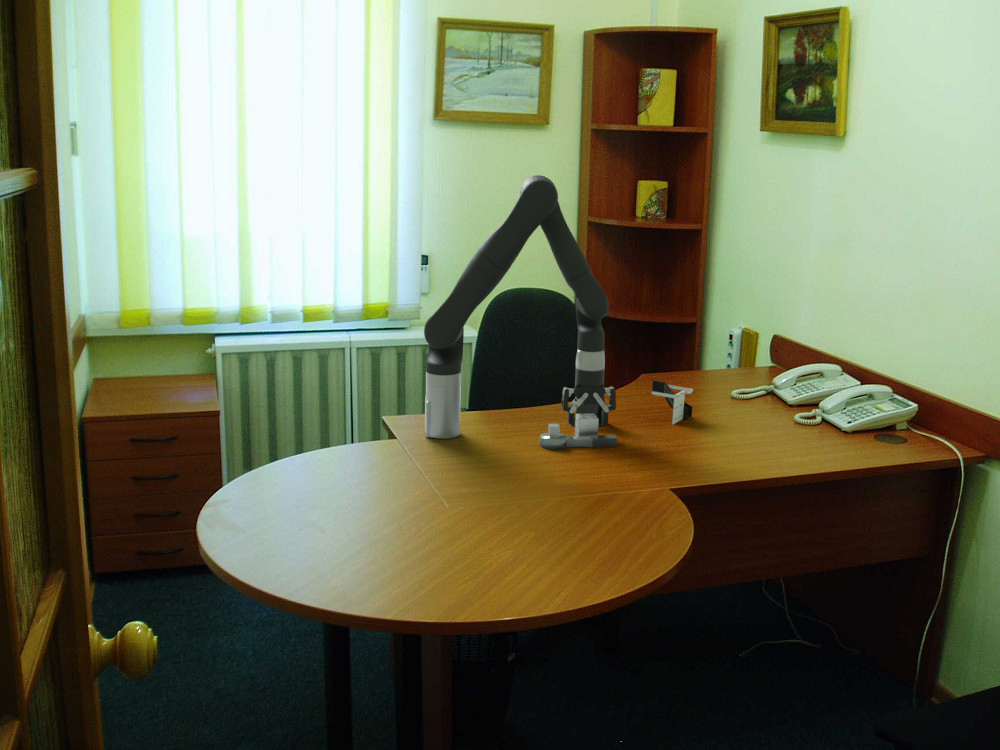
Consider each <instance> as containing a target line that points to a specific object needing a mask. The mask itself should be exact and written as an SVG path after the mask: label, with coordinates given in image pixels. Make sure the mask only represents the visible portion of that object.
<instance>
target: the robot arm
mask: <svg viewBox="0 0 1000 750" xmlns="http://www.w3.org/2000/svg"><path fill="white" fill-rule="evenodd" d="M519 193H520V194H519V197H518V199H517V201H516V203H515V205H514V207H513V208H512V210H511V211H510V212H509V214H508V216H507V218H505V220H504V221H503V222H502V224H501V225H500V226H499V227H498V228H496V229H495V230H494V231H493V232H492V233H491V234H490V235H489V236H488V237H487V238H486V240H485V241H483V243H482V244H481V245H480V247H479V248H478V249H477V250H476V252H475V254H473V256H472V257H471V260H470V261H469V262H468V264H467V265H466V267H465V269H464V270H463V272H462V274H461V275H460V276H459V279H458V280H457V281H456V284H455V286H454V287H453V289H452V291H451V292H450V293H449V295H448V297H447V298H446V299H445V300H444V301H443V303H441V305H440V306H439V307H438V308H437V309H436V310H435V312H434V313H433V314H432V315H431V316H430V317H429V318H428V319H427V321H426V322H425V325H424V330H423V334H424V340H425V341H426V343H427V344H428V351H427V352H428V354H427V358H426V361H425V396H424V397H425V398H424V433H425V438H432V439H433V438H434V439H443V440H444V439H452V438H457V437H459V436H460V434H461V400H462V399H461V398H462V397H461V394H462V393H461V389H462V388H461V387H462V386H461V385H462V364H463V357H464V339H465V338H464V335H465V333H464V326H465V325H466V323H467V322H468V321H469V318H470V317H471V315H472V314H473V313H474V311H475V310H476V309H477V308H478V307H479V305H480V304H481V303H483V301H484V300H486V298H487V297H489V295H490V294H491V293H492V292H493V290H495V288H496V287H497V286H498V285H499V284H500V282H501V281H502V280H503V278H504V277H505V276H506V274H507V273H508V272H509V270H510V269H511V267H512V265H513V264H514V263H515V261H516V259H517V258H518V256H519V255H520V253H521V251H522V250H523V248H524V247H525V245H526V243H527V242H528V240H529V239H530V237H531V236H532V234H534V232H535V231H536V230H537V229H538V227H539V226H540V229H542V231H543V234H544V236H545V238H546V240H547V242H548V244H549V247H550V249H551V252H552V255H553V257H554V258H553V259H554V260H555V262H556V264H557V266H558V269H559V271H560V272H561V275H562V276H563V279H564V280H565V282H566V284H567V285H568V287H569V288H570V289H571V290H572V291H573V293H574V295H575V296H576V303H575V316H576V324H577V351H576V354H575V356H576V357H575V374H574V375H575V379H574V380H575V381H574V387H573V388H571V387H570V388H569V387H567V386H564V387H563V388H562V396H561V405H560V407H561V409H562V410H563V411H564V412H567V422H568V424H569V426H570V427H572V428H573V427H574V428H575V426H574V418H575V414H576V410H577V408H578V407H579V406H580V405H581V404H584V405H587V404H596V403H597V402H598V403H599V405H600V406H601V407H602V409H603V411H602V418H601V424H602V426H601V427H606V425H608V424H609V413H610V412H611V411H616V409H617V395H616V394H617V392H616V391H617V390H616V389H615V387H613V386H612V385H611V386H609V387H605V385H604V384H605V365H606V364H605V362H606V359H605V358H606V356H605V338H606V336H605V335H606V333H605V330H604V328H603V326H602V320H603V318H605V317H606V316H607V314H608V313H609V309H610V302H609V299H608V297H607V295H606V293H605V292H604V289H603V288H602V286H601V284H600V283H599V282H598V281H597V279H596V277H595V276H594V274H593V272H592V269H591V267H590V264H588V260H587V259H586V257H585V255H584V253H583V251H582V249H581V247H580V245H579V243H578V242H577V241H576V238H575V236H574V235H573V233H572V231H571V229H570V227H569V225H568V224H567V220H566V219H565V217H564V214H563V212H562V209H561V206H560V203H559V193H558V190H557V187H556V185H555V184H554V182H553V180H551V178H550V179H549V178H548V177H546V176H544V175H540V174H538V175H532V176H530V177H528V178H527V179H525V181H524V182H523V184H522V186H521V187H520V192H519ZM604 387H605V388H604ZM605 393H606V394H607V396H608V401H609V402H608V405H605V404H606V402H605V403H604V402H603V401H602V399H601V397H602V396H603V395H604V396H605ZM572 394H574V396H575V398H574V399H573V400H572V402H571V404H570V405H569V398H570V397H571V396H572ZM607 423H608V424H607Z"/></svg>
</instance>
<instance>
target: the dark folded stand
mask: <svg viewBox="0 0 1000 750" xmlns="http://www.w3.org/2000/svg"><path fill="white" fill-rule="evenodd" d="M604 388H606V387H605V386H604ZM605 397H606V396H605V394H604V395H603V396H602V397H601V399H602V401H603V402H604V403H605V405H606V400H605ZM606 406H607V405H606ZM602 411H603V409H602V407H601V406H600V405H599V403H598V402H597V403H596V404H587V405H584V404H581V405H580V406H579V407H578V408H577V409H576V410H575V416H574V427H575V418H576V414H595V415H596V416H597V418H598V419H599V422H598V428H602V427H603V426H602V424H601V418H602ZM606 425H609V422H608V423H607V424H606Z"/></svg>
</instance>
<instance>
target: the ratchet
mask: <svg viewBox="0 0 1000 750" xmlns="http://www.w3.org/2000/svg"><path fill="white" fill-rule="evenodd" d="M547 427H548V428H547V429H548V430H547V431H548V432H543V433H541V434H540V435H539V447H541V448H542V449H546V450H556V451H557V450H563V449H566V448H582V447H583V448H584V447H585V448H591V447H592V448H593V447H595V448H596V447H597V448H599V447H600V448H601V447H603V448H605V447H606V448H607V447H610V448H611V447H612V448H613V447H618V438H617V436H616V435H615V434H598V435H590V436H575V435H566V434H565V433H561V426H560V424H559V423H548V426H547Z"/></svg>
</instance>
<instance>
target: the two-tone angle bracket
mask: <svg viewBox="0 0 1000 750" xmlns="http://www.w3.org/2000/svg"><path fill="white" fill-rule="evenodd" d="M651 388H652V389H651V395H653V396H657V397H658V396H660V397H664V399H665V400H666V402H667V404H668V405H669V407H670V408H671V409H673V410H672V422H671V424H672V425H675V424H677V423H678V422H680V421H682V420H683V419H684V420H687V421H689V420H691V419H692V418H693V406H692V405H690V404H689V403H687V402H685V395H687V394H688V395H689V394H692V393H694V389H693V388H690V387H684V386H677V385H673V384H667V382H666V381H662V380H661V381H660V380H656V379H653V380H652V387H651ZM672 389H674V390H680V392H678V393H676V394H675V392H674V391H673V390H672Z"/></svg>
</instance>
